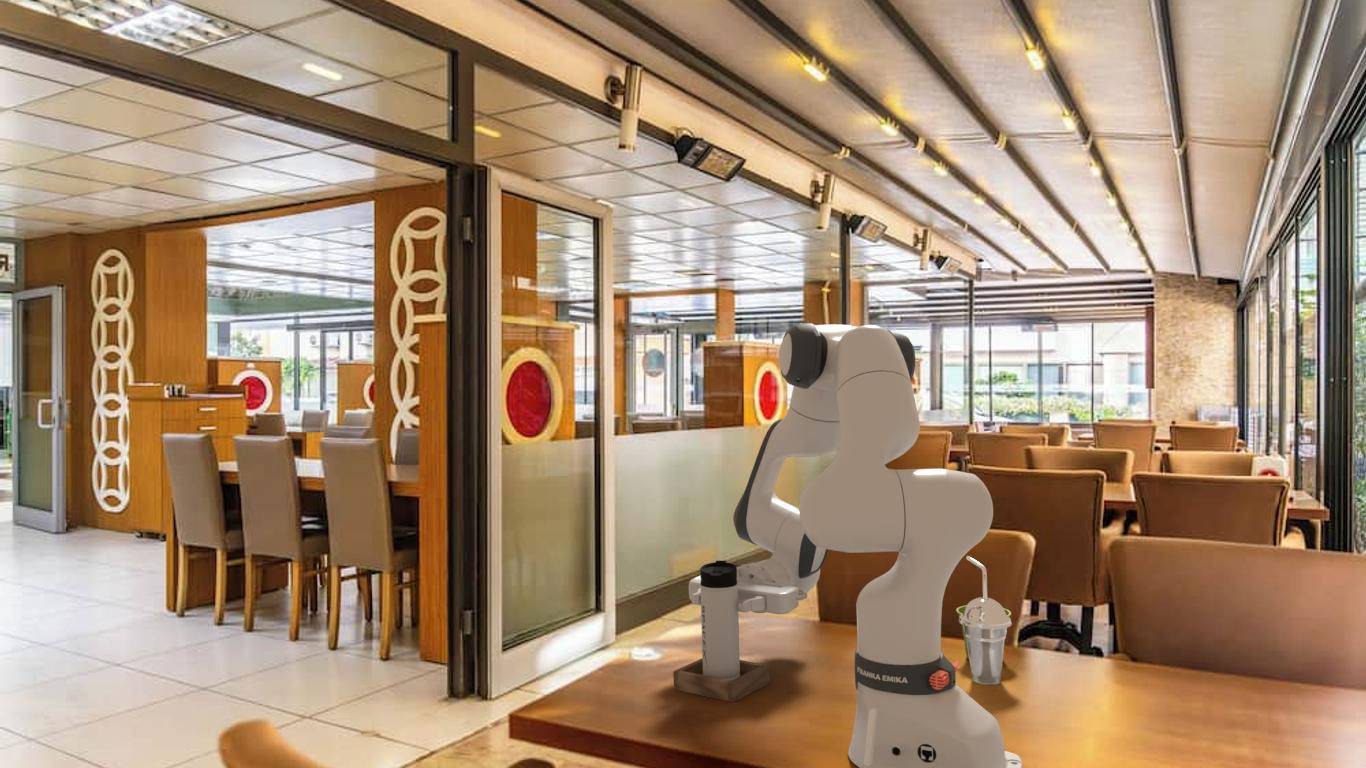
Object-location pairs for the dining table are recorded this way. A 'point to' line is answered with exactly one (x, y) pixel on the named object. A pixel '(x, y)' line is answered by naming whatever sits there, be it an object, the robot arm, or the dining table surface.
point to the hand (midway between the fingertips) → (718, 603)
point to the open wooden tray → (721, 681)
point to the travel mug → (720, 620)
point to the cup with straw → (985, 634)
